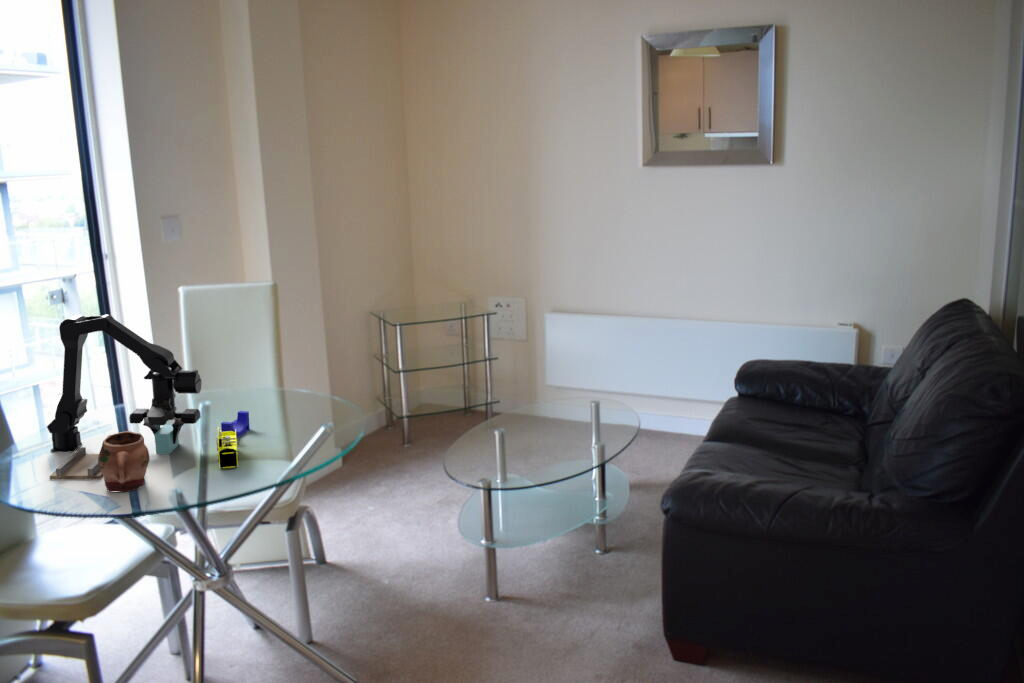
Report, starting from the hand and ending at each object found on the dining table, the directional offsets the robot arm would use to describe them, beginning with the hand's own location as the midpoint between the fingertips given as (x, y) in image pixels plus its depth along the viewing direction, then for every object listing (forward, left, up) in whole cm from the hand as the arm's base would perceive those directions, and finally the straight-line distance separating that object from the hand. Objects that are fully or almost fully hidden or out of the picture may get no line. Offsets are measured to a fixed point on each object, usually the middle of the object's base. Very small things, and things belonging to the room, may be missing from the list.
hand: (167, 443), depth 256 cm
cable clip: (+16, +12, -2) cm, 20 cm away
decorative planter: (-1, -29, -2) cm, 29 cm away
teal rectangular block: (0, 0, -2) cm, 2 cm away
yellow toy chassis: (+20, -9, -2) cm, 22 cm away
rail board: (-17, -15, -2) cm, 23 cm away
